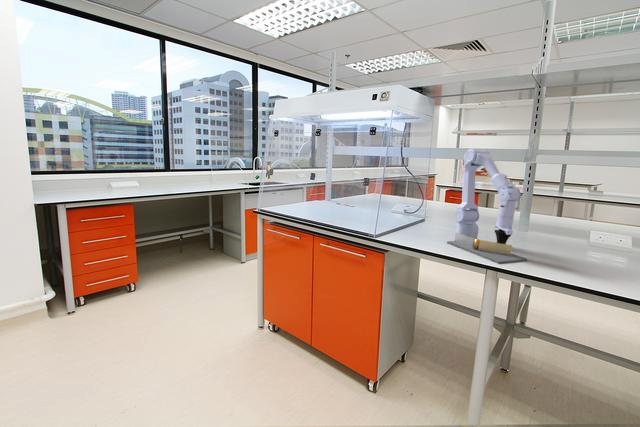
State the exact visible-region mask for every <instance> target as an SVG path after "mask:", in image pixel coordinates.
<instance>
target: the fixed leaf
mask: <svg viewBox="0 0 640 427" xmlns="http://www.w3.org/2000/svg"><path fill="white" fill-rule="evenodd" d="M454 237H455V239H454V241H455V242H457V243H459V244H462V245H465V246H467V247H470V248H472V249H473V248H474V242H475V238H472V237H469V236H466V235H463V234H460V233H457V232H455V236H454Z"/></svg>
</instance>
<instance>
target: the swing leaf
mask: <svg viewBox="0 0 640 427" xmlns="http://www.w3.org/2000/svg"><path fill="white" fill-rule="evenodd" d="M478 247H479V248H478ZM512 247H513V245H512V244H508V243H506V244H502V243H497V241H496V242H494V241H489V240H483V239H478V238H477V239H475V242H474V249H480V250H486V251H491V252H497V253H503V254H508V255H510V254H511V253H512Z"/></svg>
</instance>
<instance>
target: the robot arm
mask: <svg viewBox="0 0 640 427" xmlns="http://www.w3.org/2000/svg"><path fill="white" fill-rule="evenodd" d="M482 166H483V168H484V169H485V170H486V171H487V173H488V174H489V176H490V177H491V183H492V185H493V187H494V188H495V189H496V191H497V198H498V205H499V209H498V214H497V219H496V222H495V224H493V225H492V227H493V228H496V229H494V233H495V236H496V243H502V244H507V242H508V240H509V239H510V237H511V236H512V235H513V232H514V230H513V223H514V219H515V218H514V217H515V212H516V211H515V210H516V206H517V202H518V201H519V200H520V199H521V197H522V193H521V191H520V190H521V189H520V188H518V187H515V186H514V185H513V183H511V182H510V180H509V179H508V175H507V174H505V173H501V172H500V171H499V169H498V167H497V165H496V163H495V162H494V160H493V155H492V154H491V152H490V151H489V150H488V149H473V148H469V149H468V150H467V151H465V153H464V154H463V166H462V168H463V169H462V189H461V191H462V192H461V193H462V194H461V203H460V204H459V205H457V206H456V211H455V215H454V217H455V220H456V222H457V226H456V227H457V228H456V233H460V234H463V235H466V236H469V237H472V238H475V239H478V236H479V225H478V224H477V222H478V221H479V219H480V213H479V207H478V205H477V204H476V203H475V197H476V196H475V193H476V189H475V188H476V171H477V170H478V169H479V168H481V167H482ZM451 239H453V240H455V236H454V237H451Z"/></svg>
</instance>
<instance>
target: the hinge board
mask: <svg viewBox="0 0 640 427" xmlns="http://www.w3.org/2000/svg"><path fill="white" fill-rule="evenodd" d="M446 244H448V245H451V246H453V247H456V248H459V249H460V250H464V251H466V252H469V253H471V254H473V255H476V256H478V257H481V258H483V259H487V260H488V261H491V262H494V263H497V264H509V263H517V262H518V263H519V262H528V260H529V259H528V258H526V257H523V256H521V255H518V254H515V253H512V252H511V254H510V255H508V254H503V253H497V252H491V251H486V250H480V249H474V248H473V249H472V248H470V247H467V246H465V245H462V244H459V243H457V242H455V240H451V241H446ZM478 248H479V247H478Z"/></svg>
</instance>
